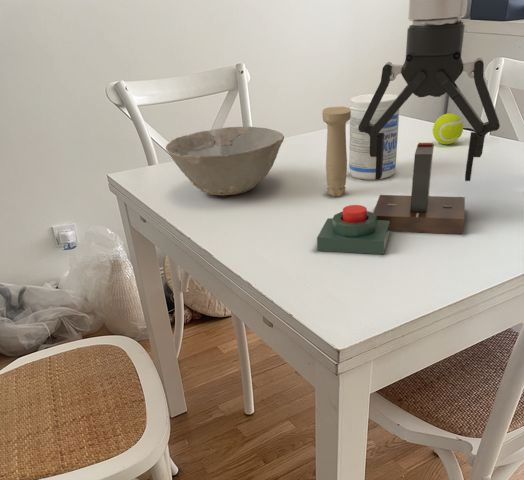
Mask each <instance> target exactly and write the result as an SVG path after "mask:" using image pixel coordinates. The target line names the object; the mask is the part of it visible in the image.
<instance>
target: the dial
mask: <svg viewBox="0 0 524 480" xmlns="http://www.w3.org/2000/svg"><path fill="white" fill-rule="evenodd" d="M434 148H435V144H434V142H418V143H417V145H416V148H415V152H414V159H413V171H412V182H411V183H412V185H411V195H410V196H411V207H410V212H426V211H427V205H428V199H429V196H430V188H431V178H432V167H433V157H434Z"/></svg>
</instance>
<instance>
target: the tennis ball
mask: <svg viewBox="0 0 524 480" xmlns="http://www.w3.org/2000/svg"><path fill="white" fill-rule="evenodd" d="M463 132H464V122H463V121H462V118H461V116H459V115H457V114H455V113H452V112H451V113H450V112H449V113H444V114H442V115H440V116H439V117H438V118H437V119H436V120H435V122H434V124H433V127H432V135H433V138H434V139H435V141H436V142H438V143H439V144H441V145H451V144H453V143H455V142H457V141H458V140H459V139H460V138H461V137H462V134H463Z"/></svg>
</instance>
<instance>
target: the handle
mask: <svg viewBox="0 0 524 480" xmlns="http://www.w3.org/2000/svg"><path fill="white" fill-rule="evenodd" d="M321 115H322V121H323V122H324V123H326V129H327V132H326V135H327V136H326V151H325V152H326V154H325V175H326V176H325V177H326V185H327V188H326V190H327V194H328V195H329V196H331V197H341V196H343V195H344V194H345V193H346V184H347V183H346V182H347V173H348V154H347V153H348V152H347V130H346V127H347V122H348V121H350V117H351V110H350V107H347V106H330V107H326V108H324V109H322V113H321Z"/></svg>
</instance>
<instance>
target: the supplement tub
mask: <svg viewBox="0 0 524 480" xmlns="http://www.w3.org/2000/svg"><path fill="white" fill-rule="evenodd" d="M374 94H375V93H368V94H360V95H356V96H353V97H352V98H350V106H349V108H350V110H351V117H350V120H349V148H348V150H349V152H348V153H349V154H348V157H349V159H348V172H349V175H350V176H351V177H353V178H356V179H358V180H369V181H370V180H372V181H373V180H375V176H376V157H371V156H370V154H369V153H370V136H369V134H367V133H365V132H360V131H359V130H358V127H359V125H360V123H361V121H362V119H363V117H364V114H365V112H366V110H367V108H368V106H369V104H370V102H371V100H372V98H373V96H374ZM398 96H399V94H394V93H384V95H383V97H382V99H381V101H380V103H379V105H378V107H377V109H376V111H375V113H374V115H373V117H372V119H371V121H370V123H371V124H375V123H376V122H377V121H378V120H379V118H380V117H381V116H382V115H383V114H384V112H385V111H386V110H387V109H388V108H389V106H390V105H391V104H392V103H393V102H394V100H395V99H396V98H397V97H398ZM399 121H400V108H399V109H398V111H397V112H396V113H395V114H394V115H393V116H392V118H391V119H390V120H389V121H388V122H387V123H386V125H385V126H384V127H383V128H382V129H381V131H380V132H379V133H384V147H383V167H382V176H381V179H380V180H382V179H386V178H390V177H391V176H393V175H394V174H395V173H396V168H397V167H396V166H397V152H398V140H399V139H398V138H399V137H398V136H399V124H400V123H399Z"/></svg>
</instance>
